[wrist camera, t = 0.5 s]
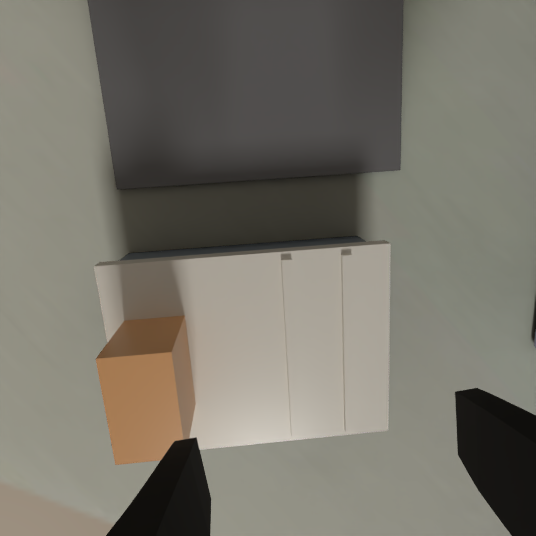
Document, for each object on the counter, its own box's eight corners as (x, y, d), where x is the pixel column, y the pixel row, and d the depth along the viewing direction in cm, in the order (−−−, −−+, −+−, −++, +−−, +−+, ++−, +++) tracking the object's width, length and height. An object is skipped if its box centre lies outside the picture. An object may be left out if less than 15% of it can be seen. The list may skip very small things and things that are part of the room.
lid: (376, 236, 18) (428, 262, 13) (375, 408, 20) (419, 486, 15) (107, 256, 17) (56, 292, 12) (137, 432, 19) (102, 521, 14)
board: (401, -52, 17) (404, -56, 16) (397, 170, 19) (400, 170, 19) (83, -40, 16) (80, -43, 16) (118, 189, 18) (116, 189, 18)
